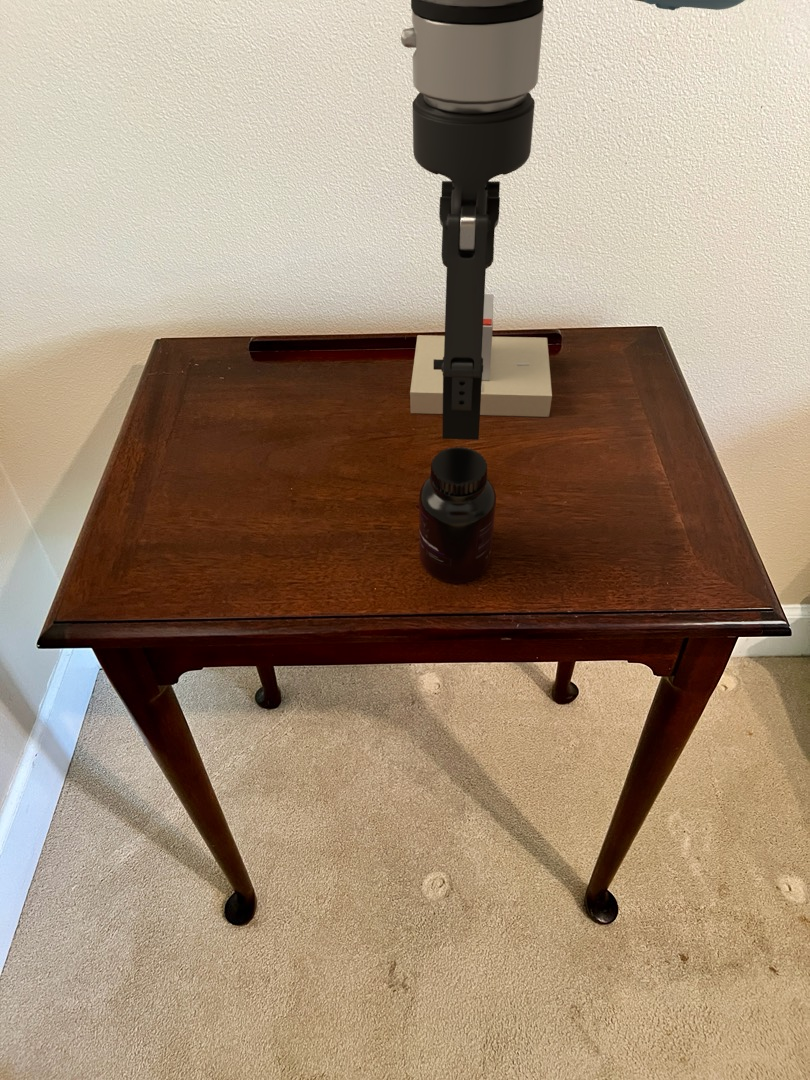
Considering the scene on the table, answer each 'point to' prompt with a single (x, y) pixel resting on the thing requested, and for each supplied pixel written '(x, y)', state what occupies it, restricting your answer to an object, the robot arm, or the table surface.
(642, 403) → the table surface
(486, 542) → the supplement bottle
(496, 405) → the sink deck
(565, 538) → the table surface
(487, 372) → the tap lever
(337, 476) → the table surface
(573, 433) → the table surface
